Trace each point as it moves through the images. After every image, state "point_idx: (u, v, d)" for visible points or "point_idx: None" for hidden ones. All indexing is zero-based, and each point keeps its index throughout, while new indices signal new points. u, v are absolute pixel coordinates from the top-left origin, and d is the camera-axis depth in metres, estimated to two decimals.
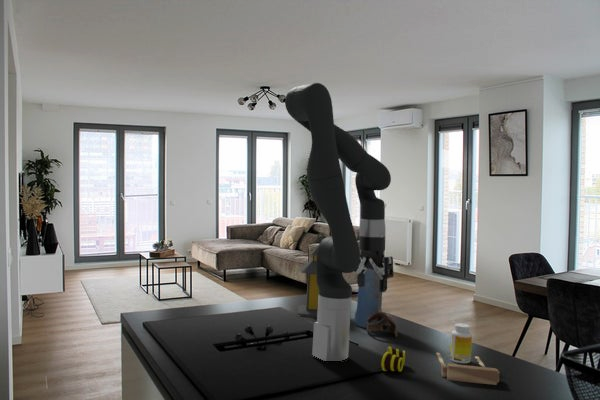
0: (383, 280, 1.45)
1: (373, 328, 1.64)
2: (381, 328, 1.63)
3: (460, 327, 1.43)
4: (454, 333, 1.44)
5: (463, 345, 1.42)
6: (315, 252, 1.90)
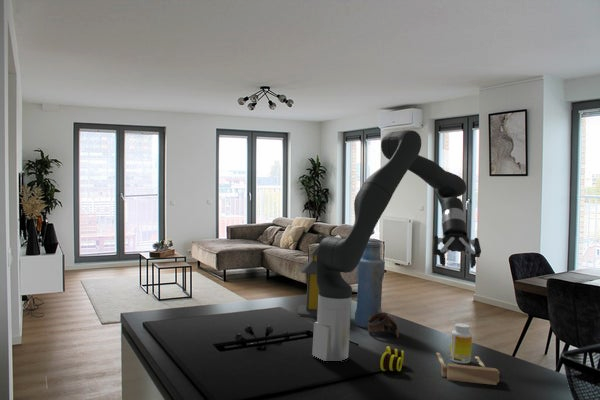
0: (474, 255, 1.58)
1: (374, 328, 1.64)
2: (382, 328, 1.62)
3: (460, 327, 1.43)
4: (454, 333, 1.44)
5: (463, 345, 1.42)
6: (315, 252, 1.90)
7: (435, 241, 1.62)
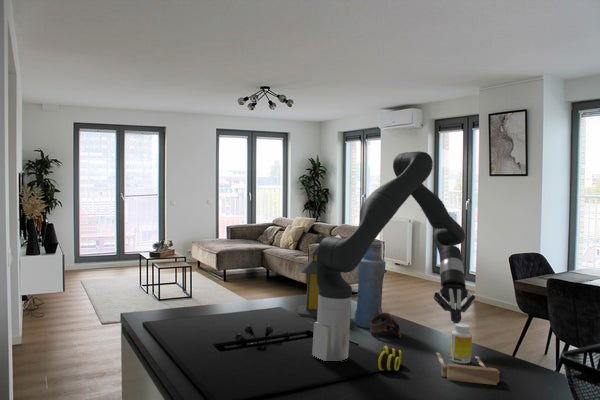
0: (460, 310, 1.56)
1: (377, 329, 1.63)
2: (385, 329, 1.62)
3: (460, 327, 1.43)
4: (454, 333, 1.44)
5: (463, 345, 1.42)
6: (315, 252, 1.90)
7: (440, 298, 1.58)
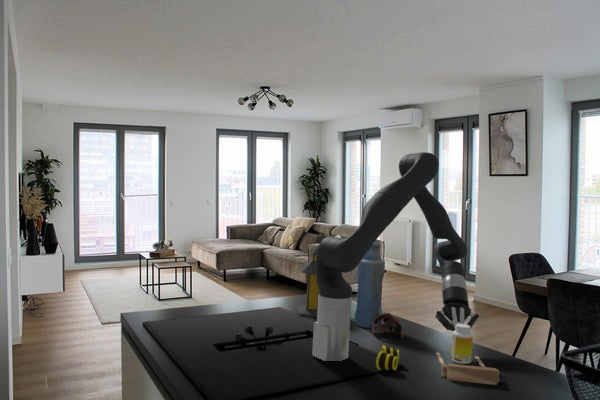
0: None
1: (379, 329, 1.63)
2: (387, 329, 1.62)
3: (460, 327, 1.43)
4: (454, 333, 1.43)
5: (464, 345, 1.42)
6: (315, 252, 1.90)
7: (442, 317, 1.52)
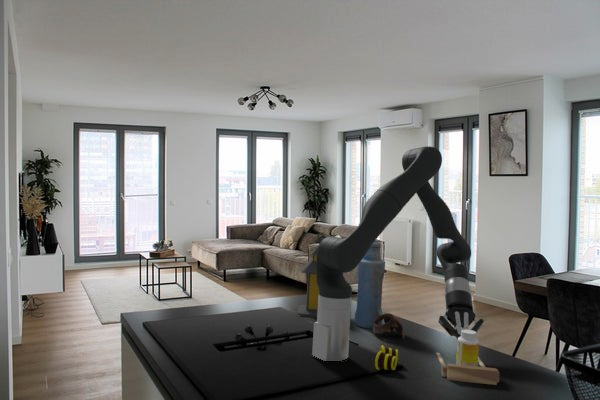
0: None
1: (380, 330, 1.62)
2: (389, 330, 1.61)
3: (467, 334, 1.36)
4: (461, 340, 1.37)
5: (471, 352, 1.35)
6: (315, 252, 1.90)
7: (445, 322, 1.46)
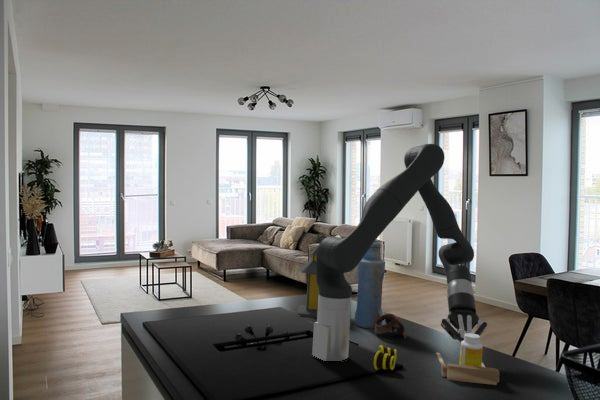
0: None
1: (382, 330, 1.62)
2: (390, 330, 1.61)
3: (471, 338, 1.33)
4: (464, 344, 1.33)
5: (474, 357, 1.32)
6: (315, 252, 1.90)
7: (448, 325, 1.42)
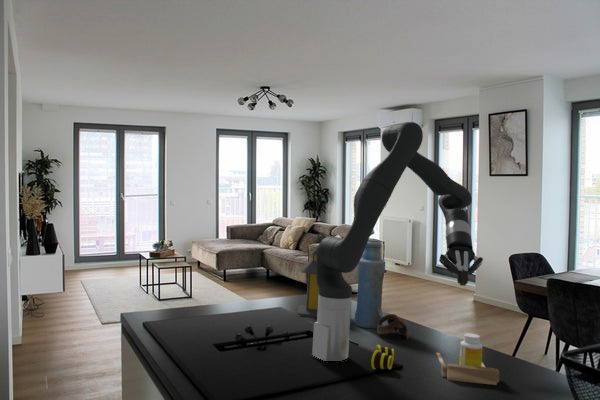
0: (467, 272, 1.49)
1: (385, 330, 1.62)
2: (393, 330, 1.61)
3: (470, 338, 1.33)
4: (464, 344, 1.33)
5: (474, 357, 1.32)
6: (315, 252, 1.90)
7: (446, 260, 1.51)
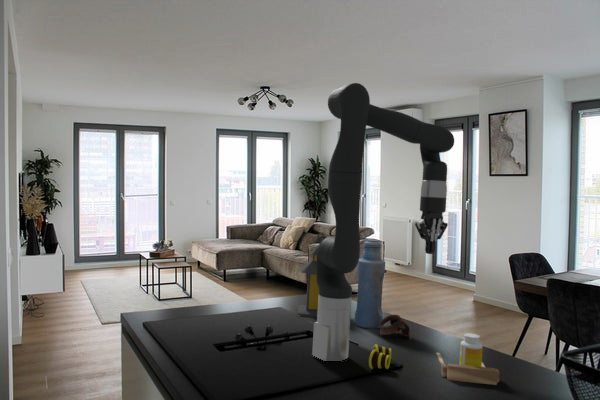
0: (435, 241, 1.53)
1: (388, 331, 1.61)
2: (396, 331, 1.60)
3: (470, 338, 1.33)
4: (464, 344, 1.33)
5: (474, 357, 1.32)
6: (315, 252, 1.90)
7: (424, 230, 1.49)
